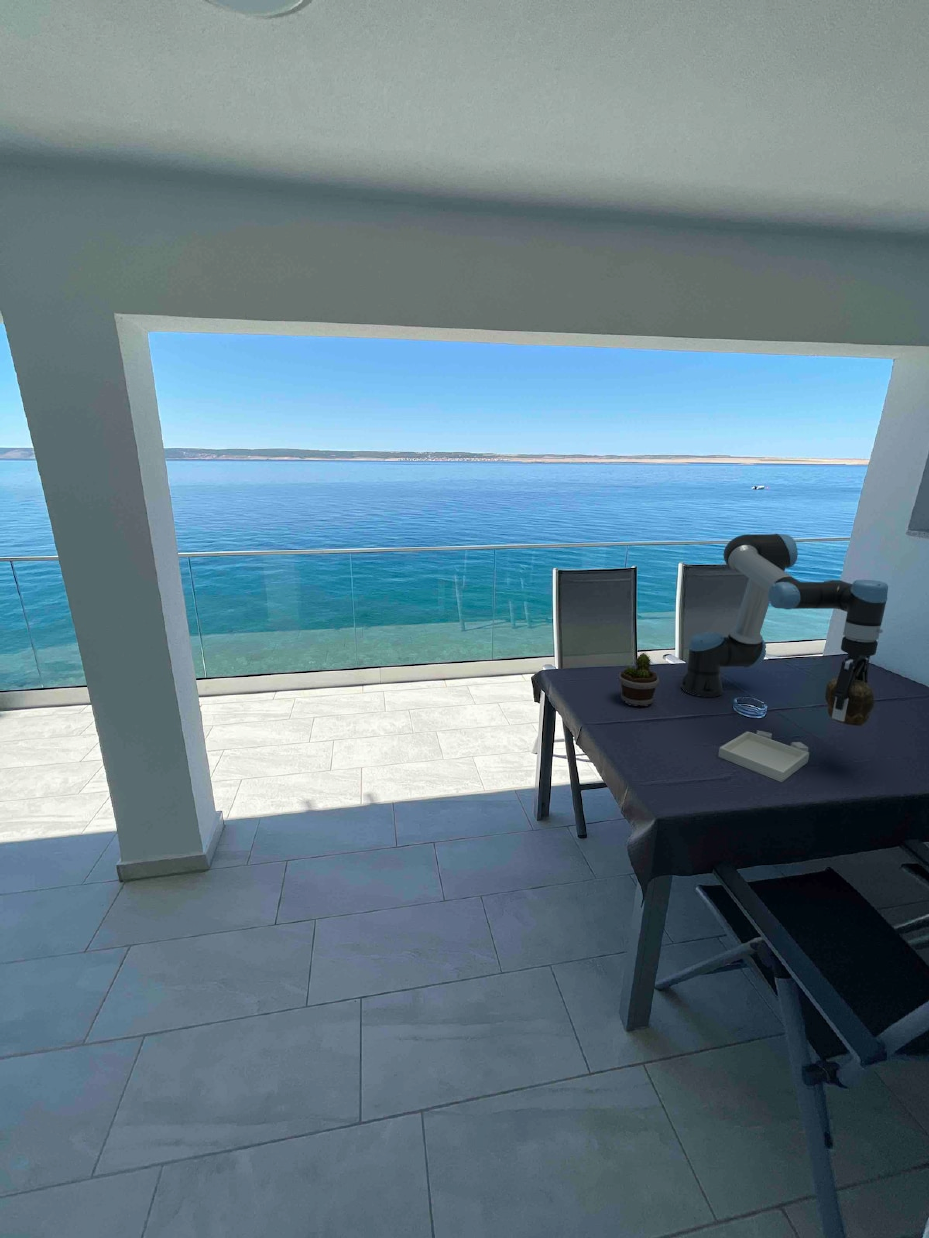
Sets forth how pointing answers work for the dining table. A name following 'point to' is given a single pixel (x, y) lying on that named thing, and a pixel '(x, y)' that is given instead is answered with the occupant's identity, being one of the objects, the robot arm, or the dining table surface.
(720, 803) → the dining table surface
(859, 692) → the shell
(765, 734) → the pebble
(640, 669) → the flowerpot
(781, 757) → the dish
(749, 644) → the robot arm
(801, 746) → the pebble
